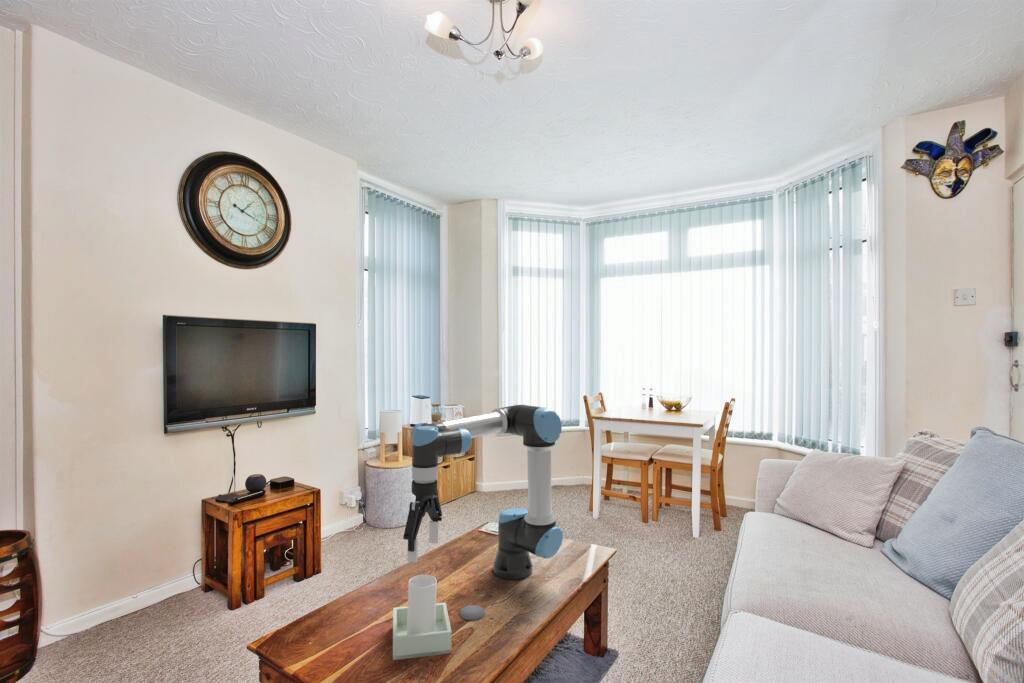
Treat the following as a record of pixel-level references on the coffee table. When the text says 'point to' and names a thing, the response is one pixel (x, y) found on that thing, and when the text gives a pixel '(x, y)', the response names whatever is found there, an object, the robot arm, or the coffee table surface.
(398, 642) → the bin
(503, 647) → the coffee table surface
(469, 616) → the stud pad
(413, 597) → the cup
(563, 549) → the coffee table surface
